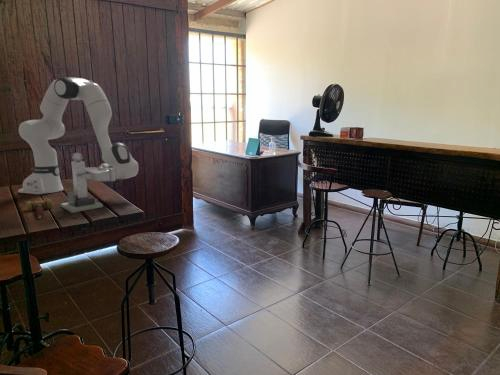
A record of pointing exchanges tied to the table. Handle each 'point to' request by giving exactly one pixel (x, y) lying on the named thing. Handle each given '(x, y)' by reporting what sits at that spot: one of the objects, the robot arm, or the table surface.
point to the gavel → (39, 206)
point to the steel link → (79, 176)
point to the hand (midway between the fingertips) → (77, 175)
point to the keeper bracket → (80, 203)
